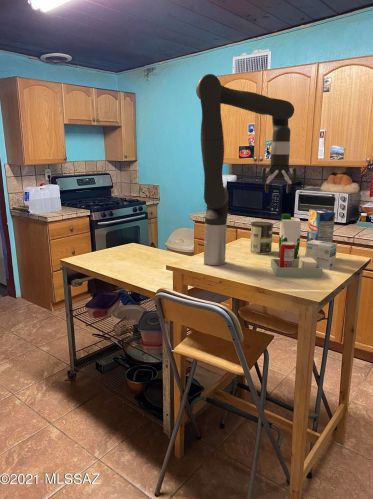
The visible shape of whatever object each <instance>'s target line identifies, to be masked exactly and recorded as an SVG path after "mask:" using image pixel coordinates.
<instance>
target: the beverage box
mask: <svg viewBox="0 0 373 499" xmlns="http://www.w3.org/2000/svg"><path fill="white" fill-rule="evenodd" d="M308 211H309V212H308V221H307V222H308V223H307V232H306V234H307V235H306V244H307V242H308V241H311V240H317V241H324V242H330V243H333V239H334V230H335V218H336V212H335V211H332V210H328V209H325V208H309V210H308ZM304 253H305V254H304V257H305V256H306V252H304Z"/></svg>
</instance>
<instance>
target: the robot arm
mask: <svg viewBox="0 0 373 499" xmlns="http://www.w3.org/2000/svg"><path fill="white" fill-rule="evenodd" d="M221 83H222V82H221V81H220V79H219V78H218V77H217V75H215V74H212V73H207V74H204V75H203V76H202V77H201V78H200V79H199V81H198V82H197V84H196V87H195V90H196V91H195V93H196V95H197V97H198V99H199V101H200V106H201V121H200V122H201V124H200V147H201V148H200V150H201V160H202V161H201V162H202V168H203V175H204V183H203V199H204V203H205V205H206V211H205V216H204V236H203V237H204V240H203V241H204V242H203V265H209V266H221V265H224V264H226V252H227V245H226V244H227V221H228V215H229V214H228V213H229V192H228V190H227V188H226V187H225V186H224V180H223V166H224V159H225V141H224V139H225V138H224V130H223V129H224V128H223V120H222V113H221V111H222V110H221V105H228V106H232V107H234V108H238V109H241V110H244V111H248V112H251V113H255V114H258V115H261V116H265V115H267V116H271V121H272V122H271V123H272V139H271V140H272V142H271V147H270V148H271V149H270V160H269V161H270V162H269V163H270V165H269V168H268V167H262V168H261V177H260V182H262V183H264V191H265V193H268V194H269V191H270V182H271V181H272V180H274V179H284V180H285V181H286V183H287V184H286V188H285V189H286V194H290V192H291V191H292V190H291V189H292V184H295V183H296V182H297V168H296V167H293V168H290V166H289V165H290V153H291V152H290V151H291V145H290V144H291V128H290V127H289V119H290V118H292V117H293V116H294V114H295V106H294V105H293V104H292V103H291V102H290V101H287V100H286V99H281V98H280V99H279V98H275V97H269V96H266V95H263V94H259V93H256V92H254V91H246V90H241V89H240V90H238V89H234V88H230V87H226V86H224V85H222V84H221ZM268 172H269V174H270V175H268V177H267V178H266V174H267V173H268ZM289 172H290V174H291V179H290V177H289V176H288V174H289Z"/></svg>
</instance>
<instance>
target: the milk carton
mask: <svg viewBox="0 0 373 499" xmlns="http://www.w3.org/2000/svg"><path fill="white" fill-rule="evenodd" d="M301 222H302V221H301V220H300V218H299V217H298V218H297V217H292V214H291V213H281V217H280V225H279V226H280V228H279V235H278V236H279V237H278V251H279V252H278V254H280V247H281V244H282V242H293V243H294V245H295V253H294V259H298V255H299V250H300V245H301V244H300V243H301V231H302V229H301V228H302V227H301Z"/></svg>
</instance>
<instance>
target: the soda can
mask: <svg viewBox="0 0 373 499" xmlns="http://www.w3.org/2000/svg"><path fill="white" fill-rule="evenodd" d="M294 253H295V245H294V243H293V242H282V244H281V247H280V253H279V259H280V261H279V268H293V265H294Z"/></svg>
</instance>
